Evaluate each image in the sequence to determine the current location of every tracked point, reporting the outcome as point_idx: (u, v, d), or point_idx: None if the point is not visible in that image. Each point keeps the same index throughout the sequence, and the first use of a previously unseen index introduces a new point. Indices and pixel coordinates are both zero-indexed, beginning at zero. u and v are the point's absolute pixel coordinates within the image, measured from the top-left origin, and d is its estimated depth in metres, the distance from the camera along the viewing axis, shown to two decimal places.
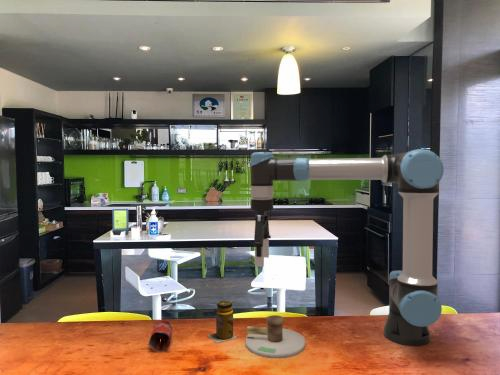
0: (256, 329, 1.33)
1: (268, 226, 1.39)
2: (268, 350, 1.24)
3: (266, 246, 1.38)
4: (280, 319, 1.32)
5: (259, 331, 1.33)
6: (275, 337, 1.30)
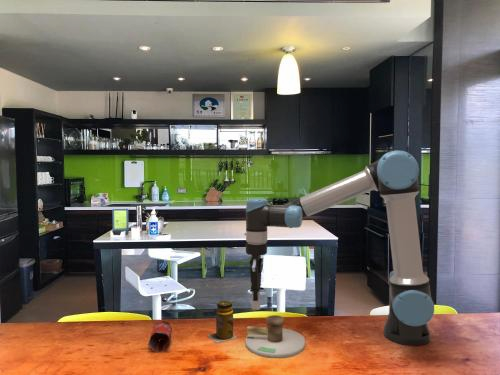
0: (256, 329, 1.33)
1: None
2: (268, 350, 1.24)
3: None
4: (280, 319, 1.32)
5: (259, 331, 1.33)
6: (275, 337, 1.30)
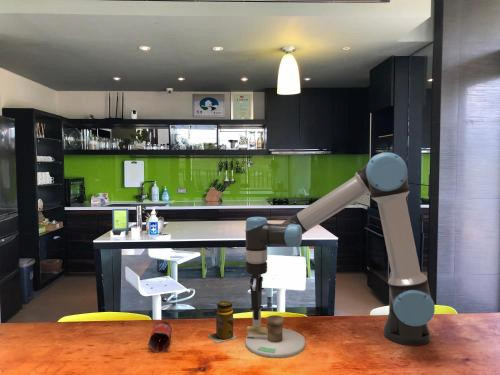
0: (256, 329, 1.33)
1: (261, 293, 1.42)
2: (268, 350, 1.24)
3: None
4: (280, 319, 1.32)
5: (259, 331, 1.33)
6: (275, 337, 1.30)
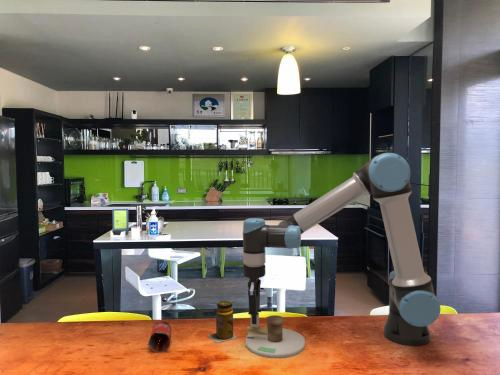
0: (256, 329, 1.33)
1: (259, 296, 1.38)
2: (268, 350, 1.24)
3: None
4: (280, 319, 1.32)
5: (259, 331, 1.33)
6: (275, 337, 1.30)
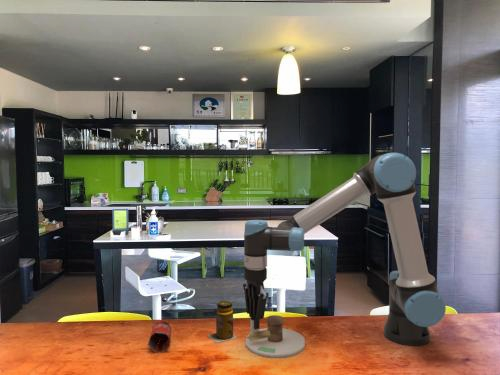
0: (259, 333, 1.29)
1: None
2: (268, 350, 1.24)
3: None
4: (280, 318, 1.33)
5: (262, 335, 1.30)
6: (280, 337, 1.31)
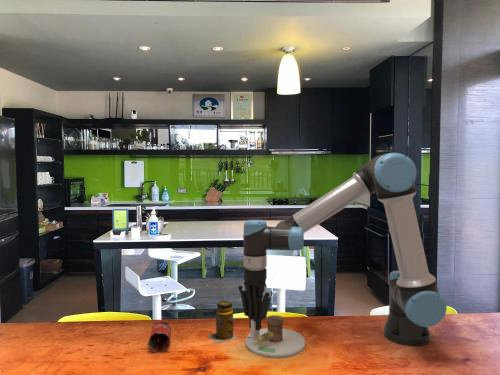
0: (266, 336, 1.27)
1: None
2: (268, 350, 1.24)
3: None
4: (278, 317, 1.34)
5: (268, 337, 1.28)
6: None
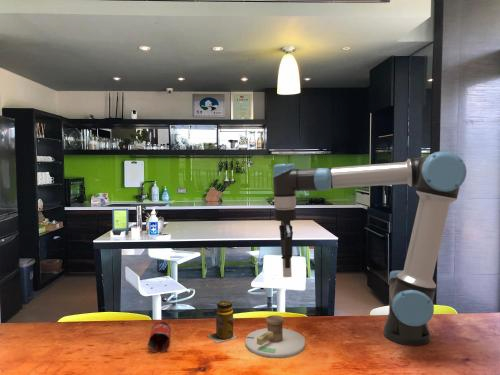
0: (266, 336, 1.27)
1: None
2: (268, 350, 1.24)
3: None
4: (278, 317, 1.34)
5: (268, 337, 1.28)
6: None
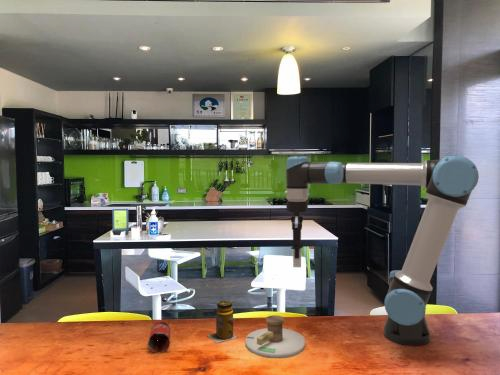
0: (266, 336, 1.27)
1: None
2: (268, 350, 1.24)
3: None
4: (278, 317, 1.34)
5: (268, 337, 1.28)
6: None
